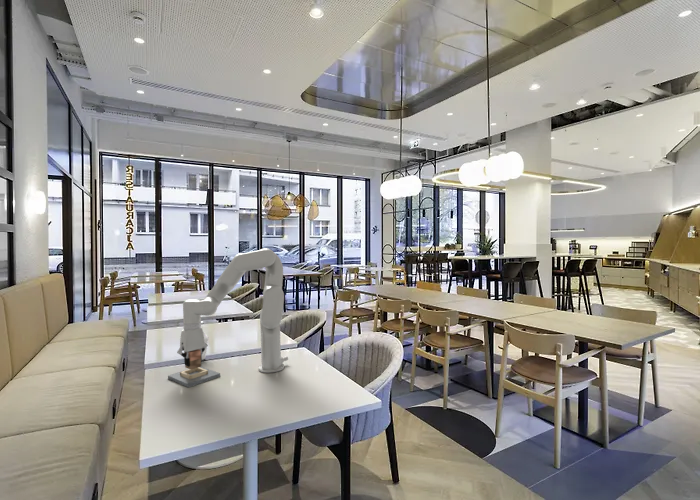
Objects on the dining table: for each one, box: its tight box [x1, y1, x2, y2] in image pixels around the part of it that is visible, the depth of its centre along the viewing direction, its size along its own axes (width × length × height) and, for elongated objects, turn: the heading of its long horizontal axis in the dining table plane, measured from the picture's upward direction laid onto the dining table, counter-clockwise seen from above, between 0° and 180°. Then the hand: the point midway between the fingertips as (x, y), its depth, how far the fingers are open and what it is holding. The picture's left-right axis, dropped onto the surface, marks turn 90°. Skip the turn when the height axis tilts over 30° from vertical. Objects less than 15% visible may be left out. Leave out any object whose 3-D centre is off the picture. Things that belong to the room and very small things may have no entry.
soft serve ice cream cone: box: [201, 331, 209, 361], centre depth 206 cm, size 8×8×16 cm
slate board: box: [167, 366, 221, 388], centre depth 179 cm, size 16×18×3 cm
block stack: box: [184, 349, 202, 370], centre depth 179 cm, size 5×5×8 cm
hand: (193, 364), depth 179 cm, fingers closed on block stack, 5 cm apart
